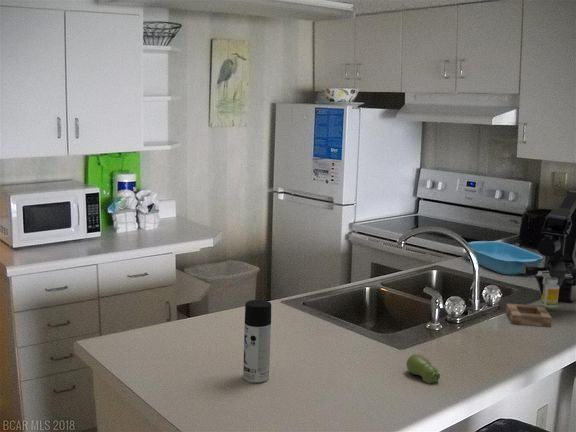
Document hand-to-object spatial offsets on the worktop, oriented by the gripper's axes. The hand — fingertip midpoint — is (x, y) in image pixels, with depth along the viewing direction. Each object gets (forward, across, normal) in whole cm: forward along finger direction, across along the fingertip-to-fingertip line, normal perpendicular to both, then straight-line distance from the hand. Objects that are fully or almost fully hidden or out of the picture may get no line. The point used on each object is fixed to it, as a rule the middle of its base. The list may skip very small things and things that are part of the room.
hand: (550, 295), depth 236 cm
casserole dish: (+6, -7, +57) cm, 58 cm away
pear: (+6, -46, -64) cm, 79 cm away
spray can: (+6, -88, -73) cm, 114 cm away
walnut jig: (+5, -9, -11) cm, 15 cm away
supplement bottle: (+4, 0, 0) cm, 4 cm away
